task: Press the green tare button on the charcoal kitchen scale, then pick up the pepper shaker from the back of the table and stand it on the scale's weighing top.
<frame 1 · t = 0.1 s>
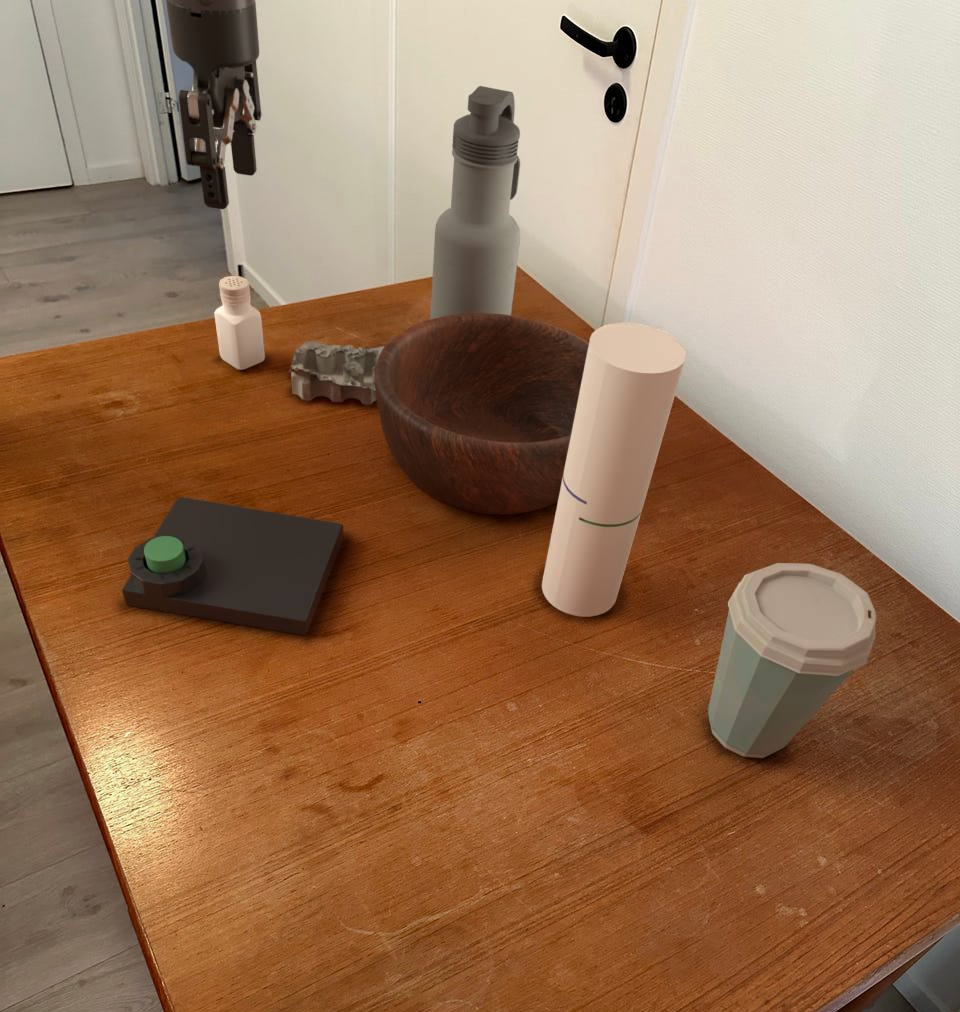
hand: (231, 189, 89), 20 cm above the table, tool pointing down, fingers open, 8 cm apart
egg carton: (338, 387, 104), on the table
cylindrical container: (579, 590, 84), on the table
scale: (240, 570, 82), on the table
wooden bowl: (490, 459, 97), on the table
water bottle: (468, 344, 113), on the table
disposable coffee cup: (744, 726, 75), on the table
tare button: (165, 554, 77), point 4 cm above the table, slide at 0.1 cm
pepper shaker: (243, 362, 105), on the table
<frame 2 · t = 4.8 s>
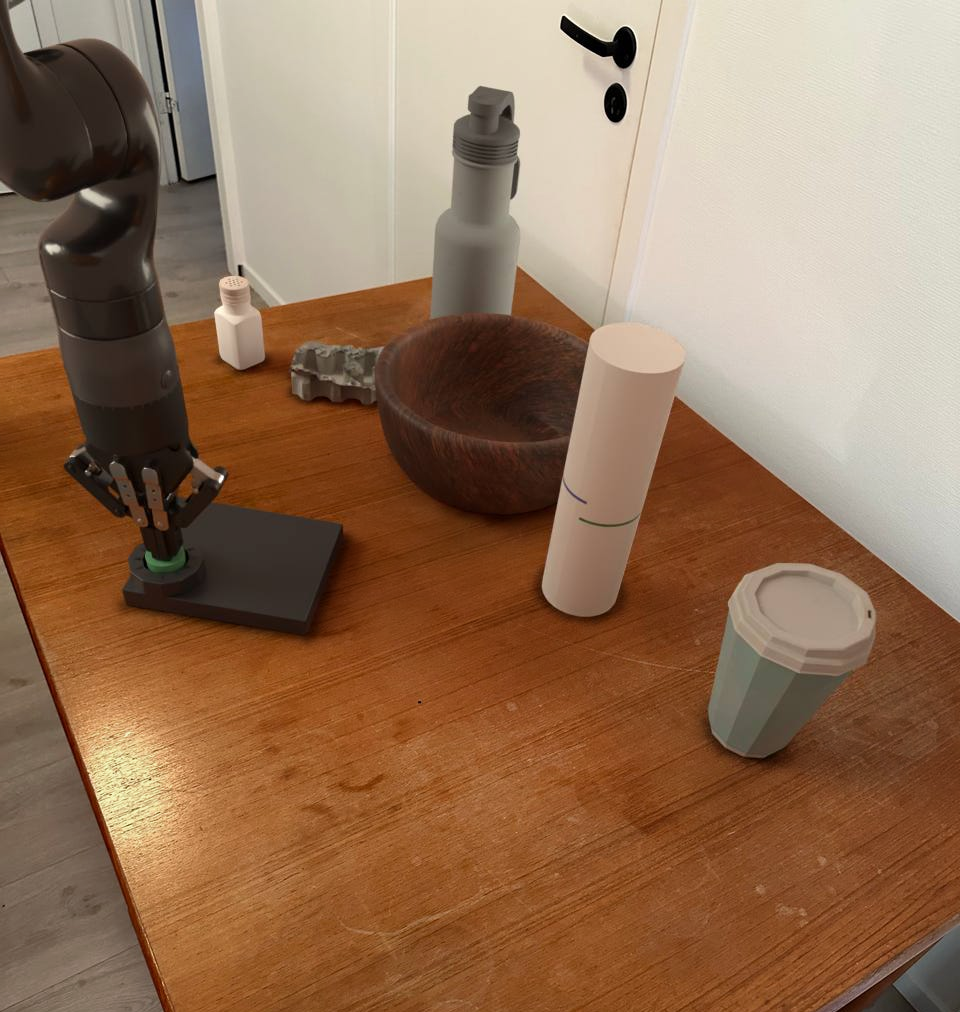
hand: (165, 553, 77), 4 cm above the table, tool pointing down, fingers closed
tare button: (166, 560, 77), point 3 cm above the table, slide at -0.5 cm, touching gripper
everything else where it was.
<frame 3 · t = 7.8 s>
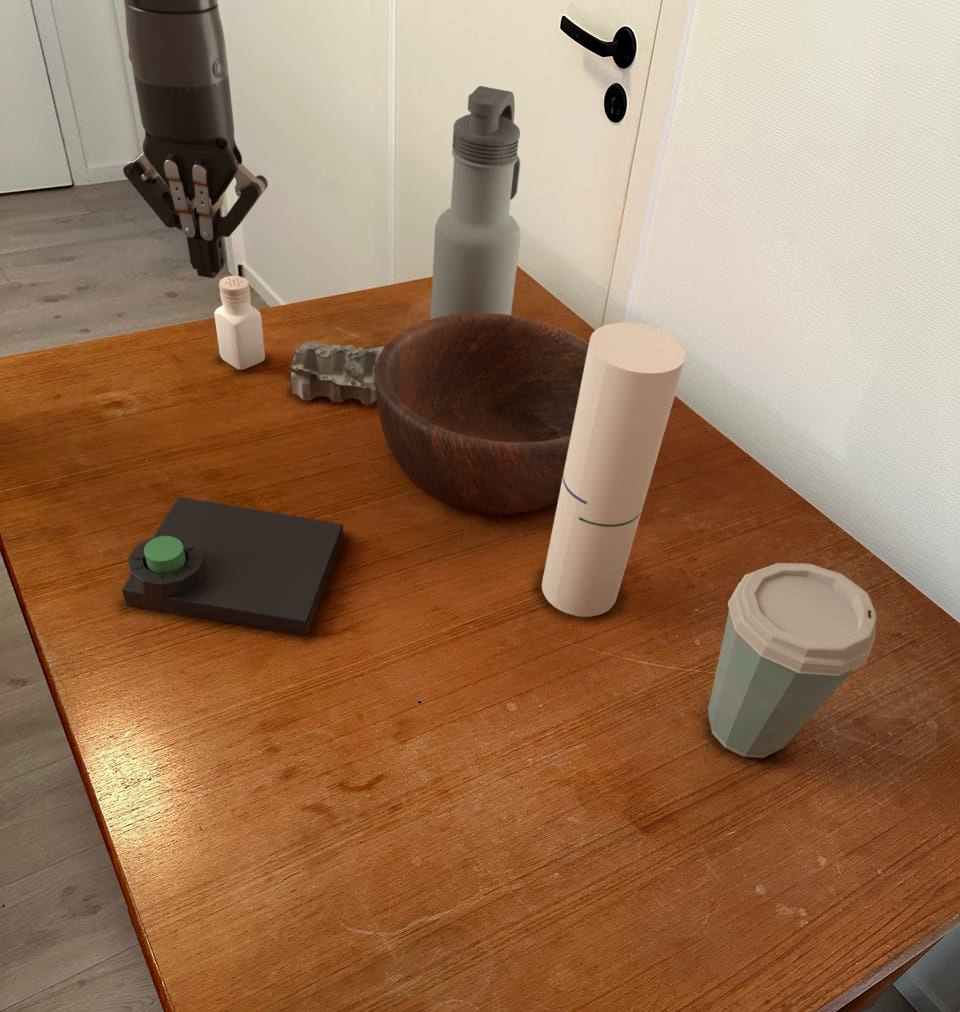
hand: (209, 273, 86), 16 cm above the table, tool pointing down, fingers closed
tare button: (165, 555, 77), point 4 cm above the table, slide at 0.1 cm
everything else where it was.
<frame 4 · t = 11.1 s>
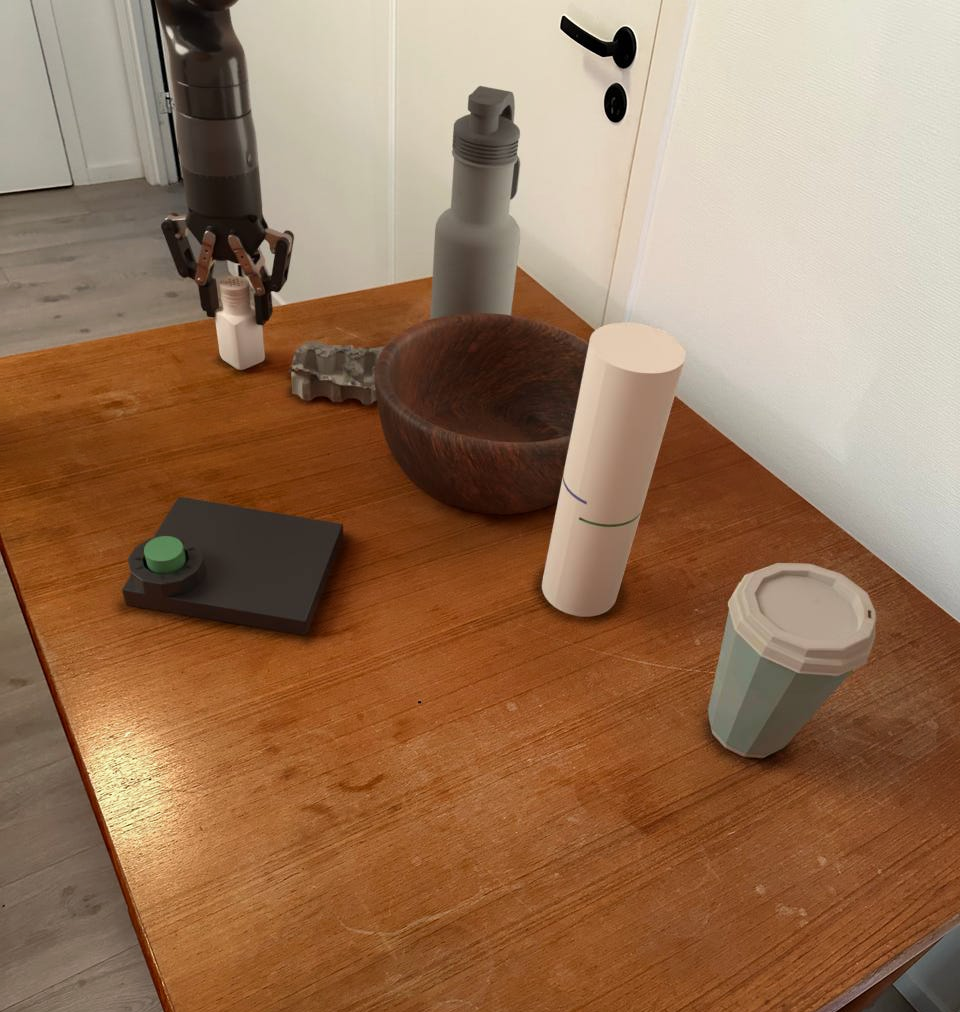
hand: (237, 317, 101), 5 cm above the table, tool pointing down, fingers closed on pepper shaker, 5 cm apart
pepper shaker: (243, 362, 105), on the table, touching gripper
everything else where it was.
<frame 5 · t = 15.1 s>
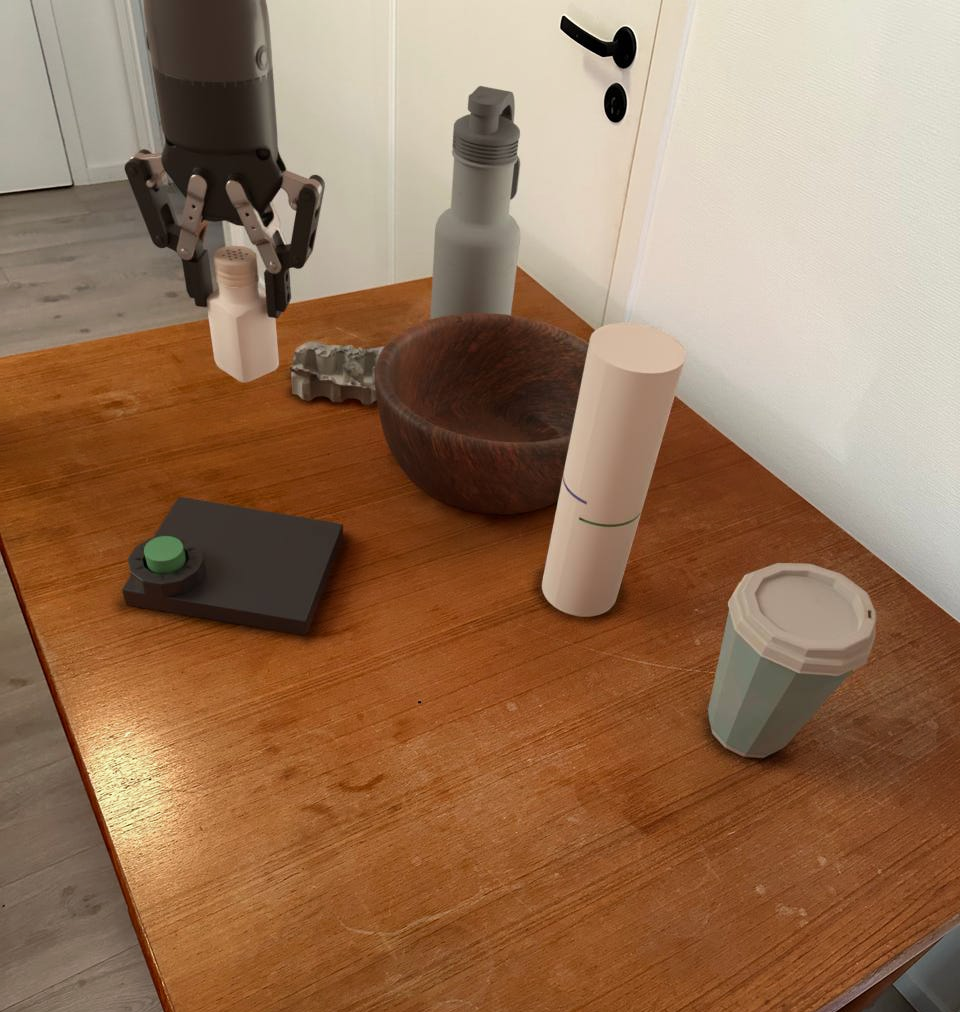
hand: (240, 306, 70), 22 cm above the table, tool pointing down, fingers closed on pepper shaker, 5 cm apart
pepper shaker: (247, 370, 74), point 17 cm above the table, touching gripper
everything else where it was.
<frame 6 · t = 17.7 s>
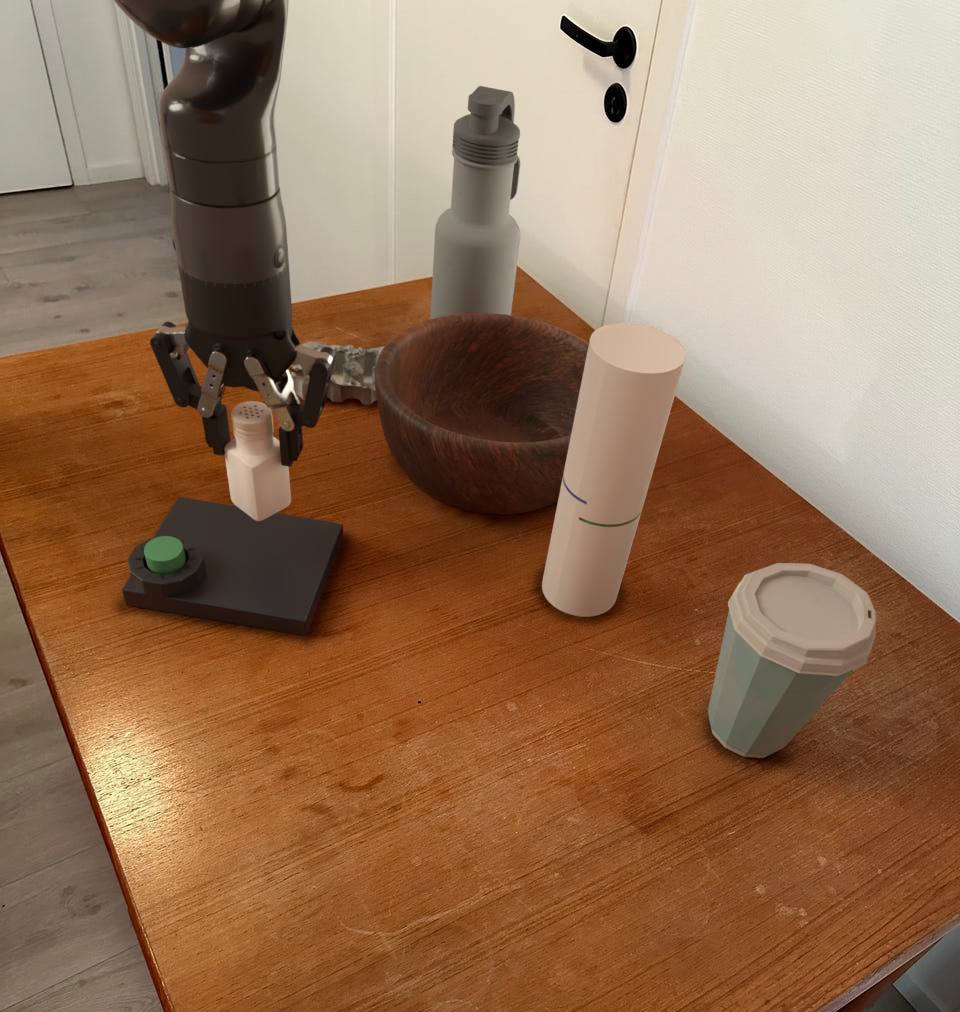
hand: (255, 454, 74), 12 cm above the table, tool pointing down, fingers closed on pepper shaker, 5 cm apart
pepper shaker: (261, 506, 79), point 6 cm above the table, touching gripper
everything else where it was.
when the fingers open (7 cm above the table, at t = 19.5 s): pepper shaker stays where it is, resting on scale.
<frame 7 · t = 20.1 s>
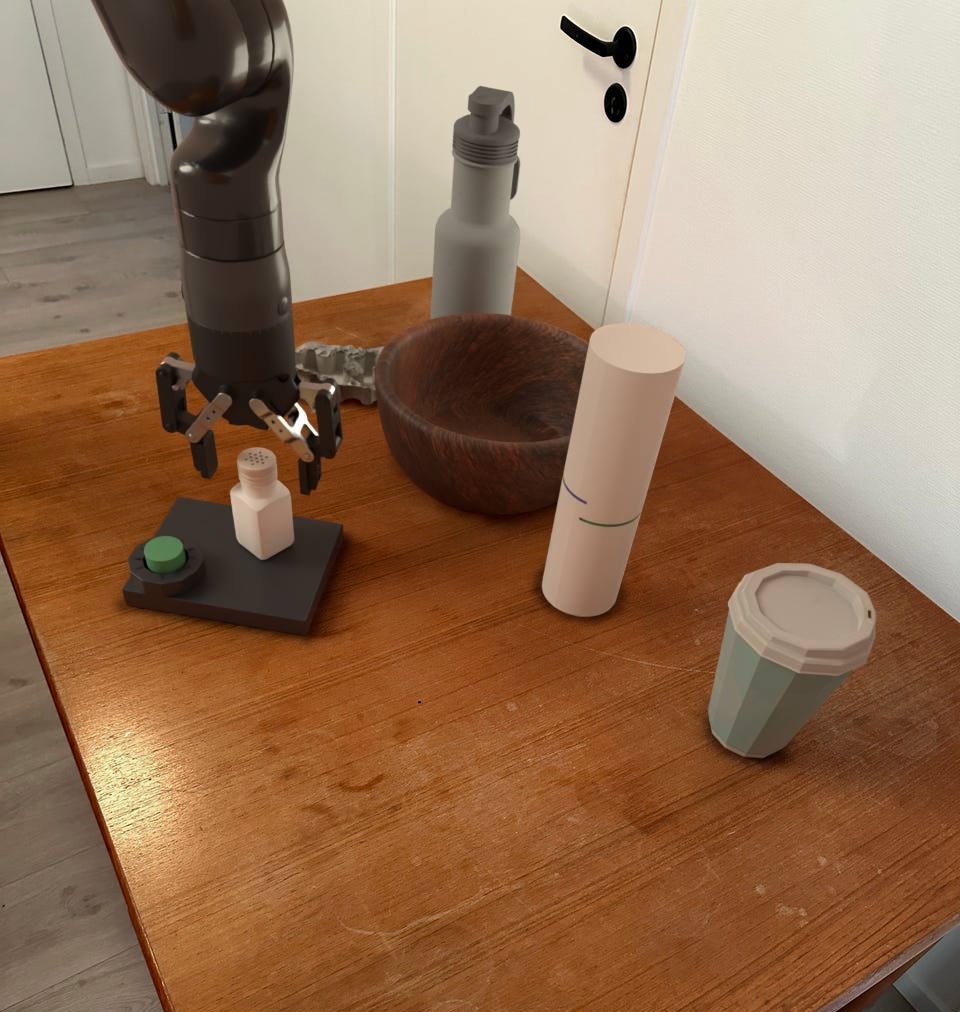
hand: (258, 481, 76), 9 cm above the table, tool pointing down, fingers open, 8 cm apart
pepper shaker: (266, 545, 82), point 2 cm above the table, touching scale
everything else where it was.
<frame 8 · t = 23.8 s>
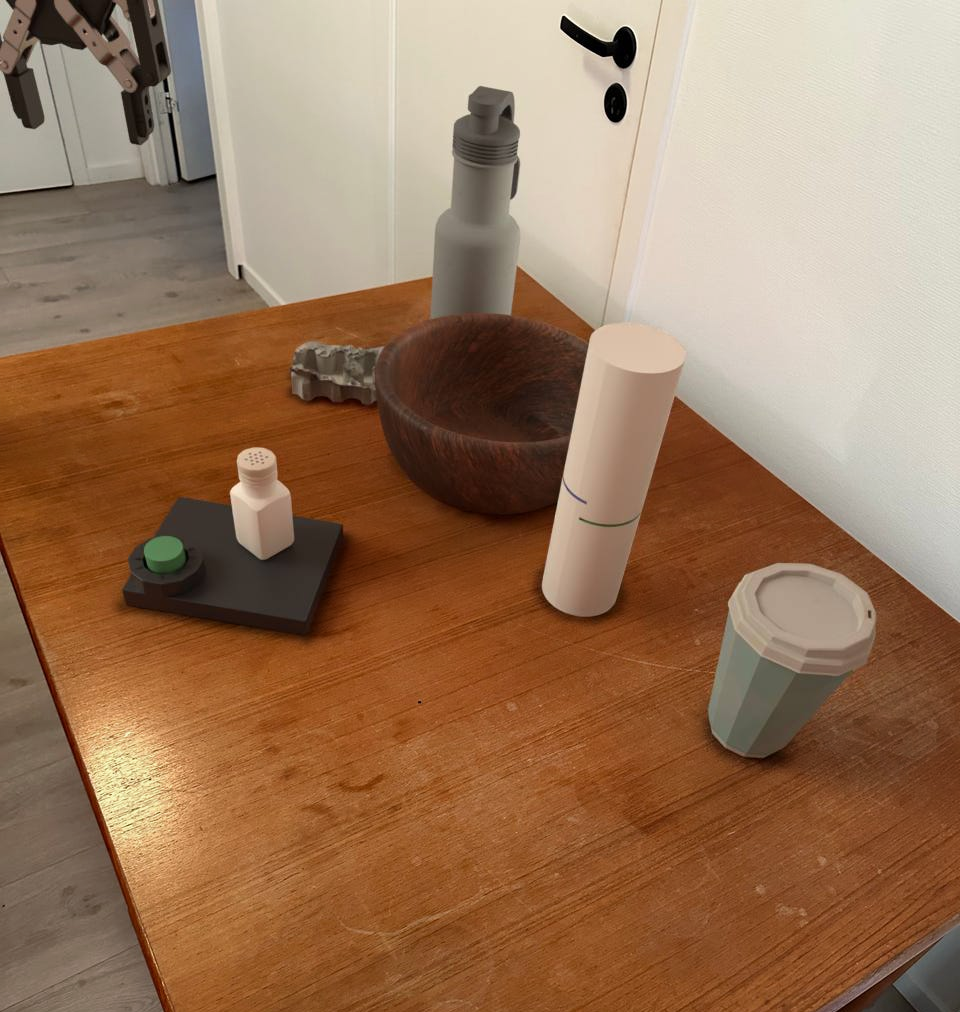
hand: (87, 133, 70), 30 cm above the table, tool pointing down, fingers open, 8 cm apart
nothing on the table moved.
at the end: tare button pushed in 0.9 cm at the most during the clip, back to where it started at the end; pepper shaker inside the target area on the scale (2.8 cm from its centre), point 1.7 cm above the scale's base; pepper shaker touching scale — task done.
